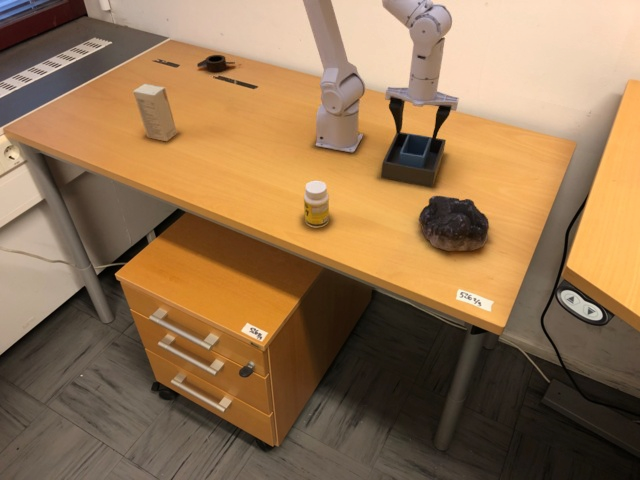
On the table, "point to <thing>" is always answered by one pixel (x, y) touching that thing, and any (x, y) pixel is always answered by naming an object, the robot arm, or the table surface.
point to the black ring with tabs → (215, 63)
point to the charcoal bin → (410, 173)
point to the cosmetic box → (155, 112)
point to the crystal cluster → (454, 224)
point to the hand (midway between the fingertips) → (416, 134)
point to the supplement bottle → (316, 204)
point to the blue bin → (415, 151)
